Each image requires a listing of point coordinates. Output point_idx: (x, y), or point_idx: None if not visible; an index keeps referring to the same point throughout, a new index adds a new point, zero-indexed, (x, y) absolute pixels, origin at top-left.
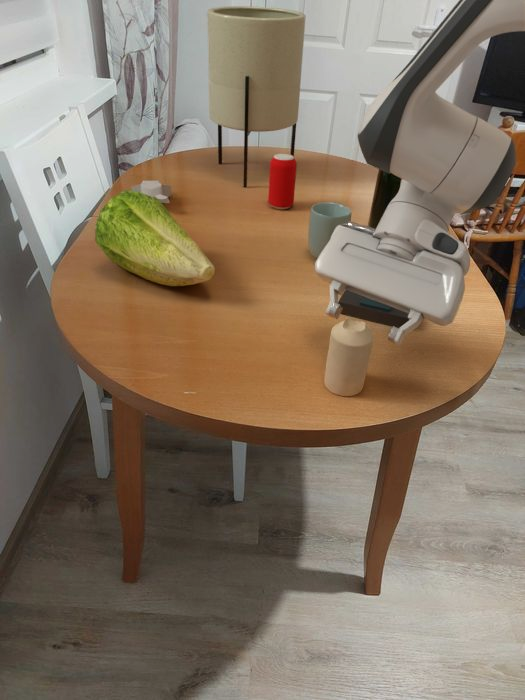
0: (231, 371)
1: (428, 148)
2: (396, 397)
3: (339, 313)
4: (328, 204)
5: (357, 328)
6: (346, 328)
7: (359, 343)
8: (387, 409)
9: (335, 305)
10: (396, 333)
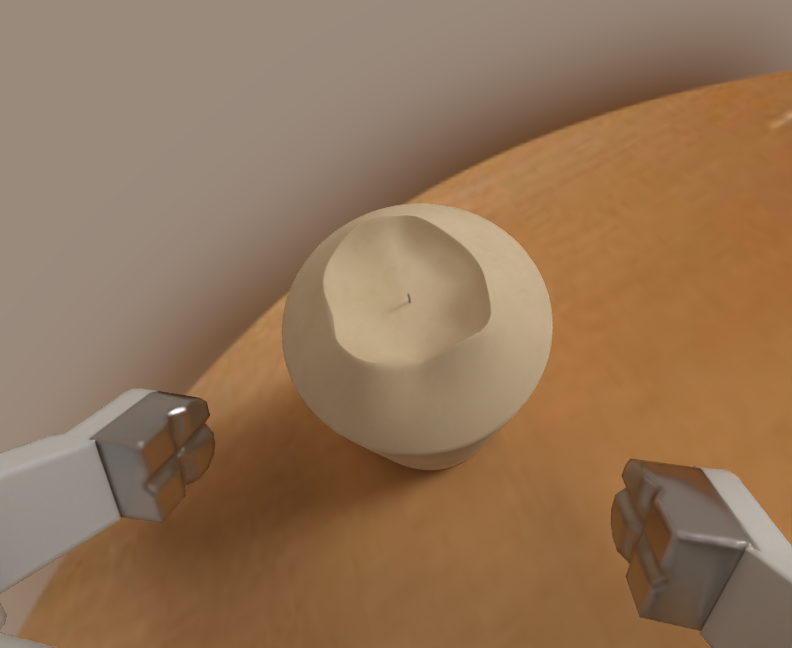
0: (780, 248)
1: None
2: (248, 432)
3: (630, 562)
4: None
5: (389, 327)
6: (452, 282)
7: (336, 232)
8: (264, 360)
9: (705, 522)
10: (129, 413)
